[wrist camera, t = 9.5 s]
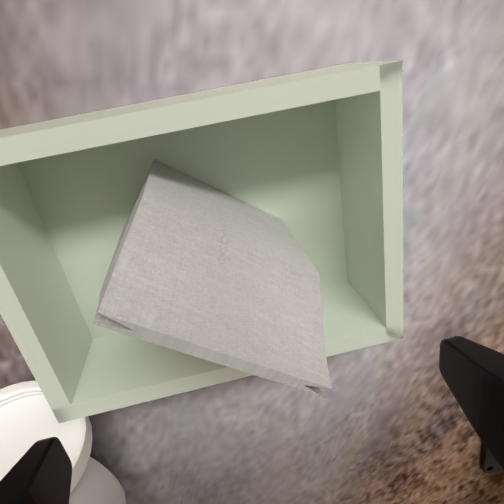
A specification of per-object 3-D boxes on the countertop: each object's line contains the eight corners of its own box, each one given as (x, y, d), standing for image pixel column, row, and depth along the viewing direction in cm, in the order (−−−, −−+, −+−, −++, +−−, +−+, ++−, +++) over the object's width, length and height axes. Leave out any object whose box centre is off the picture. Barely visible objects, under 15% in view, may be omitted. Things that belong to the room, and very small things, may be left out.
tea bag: (154, 159, 18) (126, 249, 9) (282, 219, 20) (366, 342, 11) (123, 229, 19) (69, 375, 10) (248, 279, 21) (298, 436, 12)
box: (359, 285, 23) (403, 338, 18) (84, 349, 22) (58, 423, 17) (346, 63, 18) (402, 60, 13) (-13, 132, 17) (-85, 154, 12)
